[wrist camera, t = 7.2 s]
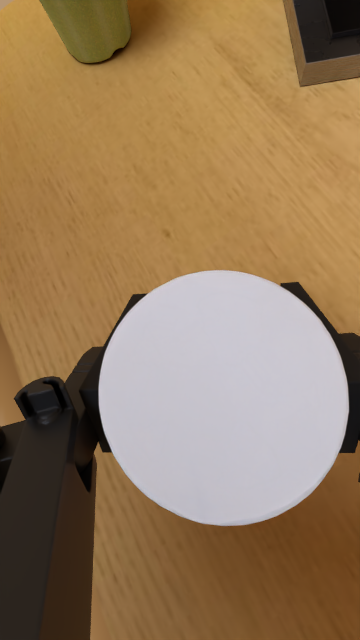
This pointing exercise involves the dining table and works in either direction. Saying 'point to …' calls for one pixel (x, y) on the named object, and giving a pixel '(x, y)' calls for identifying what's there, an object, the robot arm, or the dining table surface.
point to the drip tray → (324, 39)
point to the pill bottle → (223, 398)
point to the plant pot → (90, 26)
